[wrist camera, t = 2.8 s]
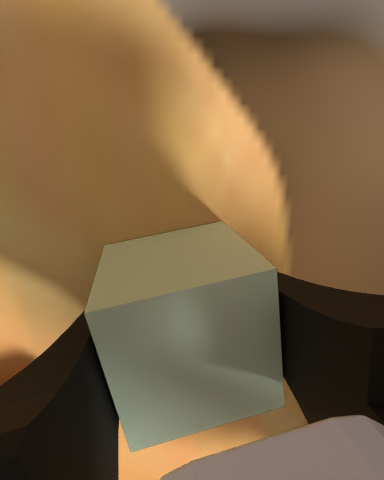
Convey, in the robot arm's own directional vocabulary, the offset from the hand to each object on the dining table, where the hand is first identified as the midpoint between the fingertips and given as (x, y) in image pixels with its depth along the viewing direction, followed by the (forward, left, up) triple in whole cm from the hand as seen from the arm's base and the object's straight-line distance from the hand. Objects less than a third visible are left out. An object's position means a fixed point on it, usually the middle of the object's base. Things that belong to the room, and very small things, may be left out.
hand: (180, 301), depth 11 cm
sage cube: (0, 0, -1) cm, 1 cm away
